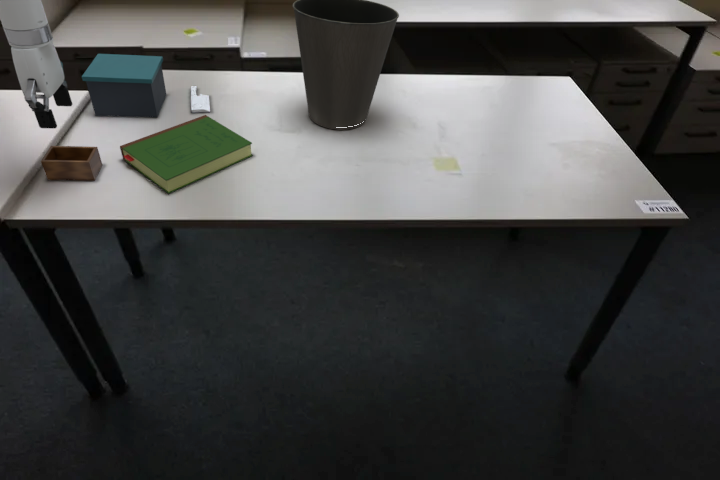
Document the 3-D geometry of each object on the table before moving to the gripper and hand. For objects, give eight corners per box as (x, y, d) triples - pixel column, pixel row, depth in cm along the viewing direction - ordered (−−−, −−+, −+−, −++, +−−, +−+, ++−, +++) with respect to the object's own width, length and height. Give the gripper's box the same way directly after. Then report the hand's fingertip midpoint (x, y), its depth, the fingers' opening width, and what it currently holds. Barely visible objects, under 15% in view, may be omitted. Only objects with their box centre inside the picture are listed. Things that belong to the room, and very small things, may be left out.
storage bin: (92, 116, 138) (81, 76, 130) (107, 91, 149) (98, 53, 142) (158, 118, 140) (151, 79, 133) (168, 93, 151) (162, 56, 144)
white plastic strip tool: (208, 88, 156) (208, 85, 155) (210, 112, 145) (209, 108, 144) (191, 88, 154) (190, 85, 154) (191, 112, 144) (190, 109, 143)
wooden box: (47, 180, 115) (40, 161, 112) (57, 164, 120) (50, 145, 117) (94, 180, 117) (89, 162, 113) (102, 165, 122) (97, 146, 118)
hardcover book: (206, 127, 139) (205, 114, 136) (252, 155, 130) (252, 142, 128) (120, 160, 123) (116, 147, 121) (165, 195, 115) (162, 181, 113)
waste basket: (381, 102, 159) (394, 0, 139) (388, 136, 144) (404, 26, 124) (293, 97, 156) (294, -8, 137) (290, 131, 141) (290, 18, 121)
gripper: (25, 17, 103) (52, 97, 115) (-13, 50, 90) (21, 136, 102) (65, 19, 104) (88, 98, 115) (33, 52, 91) (62, 137, 103)
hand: (57, 116), depth 109 cm, fingers open, 9 cm apart
